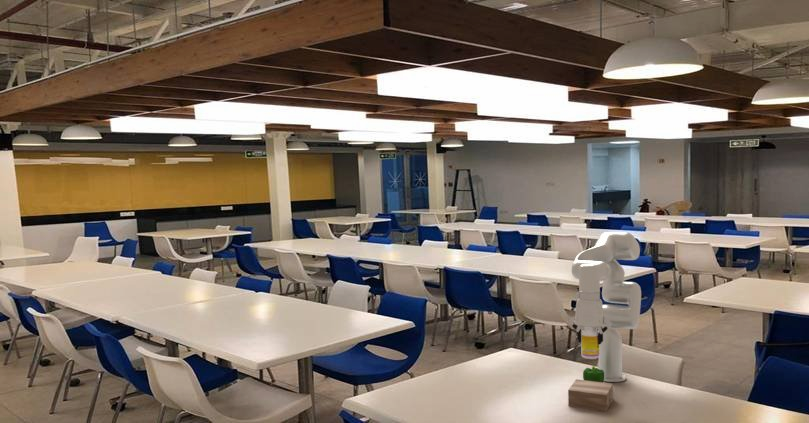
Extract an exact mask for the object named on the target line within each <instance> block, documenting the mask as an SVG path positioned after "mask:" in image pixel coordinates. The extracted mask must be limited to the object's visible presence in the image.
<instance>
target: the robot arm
mask: <svg viewBox="0 0 809 423" xmlns="http://www.w3.org/2000/svg"><path fill="white" fill-rule="evenodd" d="M640 252H641V246H640V243H639V242H638V241H637V239H636V238H635V236H634V235H633V234H631V233H630V232H624V231H606V232H605V231H604V232H602V233H601V234H600V235H599V236H598V238H597V240H596V242H595V244H594V246H592V247H591V248H588V249H586V250H583V251H581V252H579V253H578V254H577V255H576V256H575V259H574V261H573V262H572V265H571V274H572V276H573V278H574V279H577V280H578V291H576V292H575V294H574V295H575V296H576V297H578V299H576V304H575V315H574V316H572V317H571V318H570V319H569V320H568V323H569V324H570V326H572V328H573V329H574V330H575V331H576V335H577V336H576V339H577V340H578V343H580V344H581V331H582V328H583V327H584V326H585V327H596V330H597V331H598V332H599V334H598V344H599V358H598V369H600V370H603V371H604V382H605V383H619V382H624V381H626V380H627V376H626V374H625V373H623V338H622V335H621V333H620V332H619V331H618V329H623V330H624V329H625V330H635V329H637V328H638V327H639V324H640V317H641V316H640V314H641V306H642V305H641V303H642V302H641V301H642V290H641V289H642V288H641V286H640V285H639V284H638V283H637V282H634V281H625V269H624V268H623V266H622V265H621V264H620V263H619V262H618V261H619V260H622V261H635V260H637V259H638V258H639V257H640ZM601 281H602V291H601V290H600V289H601V286H600V285H601V284H600V282H601ZM601 297H602V299H603V300H604V302H607V303H609V304H605V303H604V304H603V301H602V299H601ZM610 303H611V304H610ZM612 303H613V304H612ZM619 304H623V305H619Z"/></svg>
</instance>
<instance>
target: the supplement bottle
mask: <svg viewBox="0 0 809 423" xmlns="http://www.w3.org/2000/svg"><path fill="white" fill-rule="evenodd" d="M598 334H599V332H598V329H597V327H585V326H583V329H581V342H580V345H581V346H580V348H581V349H580V351H581V354H580V355H581V357H582V358H583V359H587V360H596V359H599V344H598Z"/></svg>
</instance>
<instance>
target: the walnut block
mask: <svg viewBox="0 0 809 423" xmlns="http://www.w3.org/2000/svg"><path fill="white" fill-rule="evenodd" d="M613 386H614V384H613V383H612V382H595V381H586V380H584V379H578V378H577V379H575V380H574V382H573V383H572V384H571V385H570V387H569V388H568V389H567V391H568V392H567V396H568V397H567V398H568V399H567V403H568V407H574V408H583V409H589V410H596V411H603V412H607V411H608V409H609V407H610V406H611V403H612V402H613V400H614V392H613V391H614V390H613Z"/></svg>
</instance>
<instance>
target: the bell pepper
mask: <svg viewBox="0 0 809 423" xmlns="http://www.w3.org/2000/svg"><path fill="white" fill-rule="evenodd" d="M582 380H586V381H595V382H603V383H605V381H604V371H603V370H600V369H599V367H595V365H592V366H591V368H589V367H586V368H585V369H583V371H582Z"/></svg>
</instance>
